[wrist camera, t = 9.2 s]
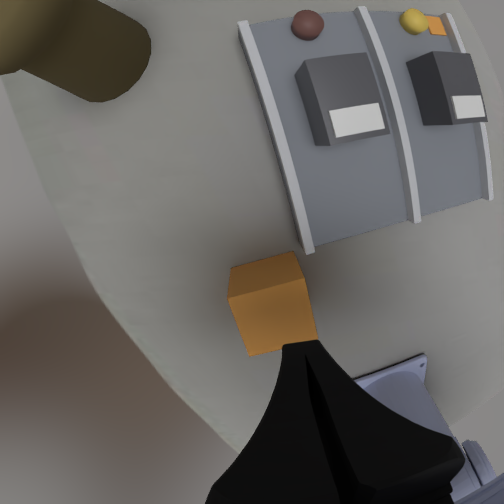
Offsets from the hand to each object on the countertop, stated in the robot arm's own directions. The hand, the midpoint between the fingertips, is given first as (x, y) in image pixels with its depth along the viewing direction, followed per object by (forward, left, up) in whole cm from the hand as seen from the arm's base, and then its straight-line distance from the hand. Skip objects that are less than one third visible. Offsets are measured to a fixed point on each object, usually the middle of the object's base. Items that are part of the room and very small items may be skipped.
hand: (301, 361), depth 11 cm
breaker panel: (+8, -9, -8) cm, 15 cm away
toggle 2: (+9, -12, -7) cm, 17 cm away
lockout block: (-1, +1, -9) cm, 9 cm away
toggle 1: (+9, -5, -7) cm, 13 cm away
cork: (+17, +6, -9) cm, 20 cm away
